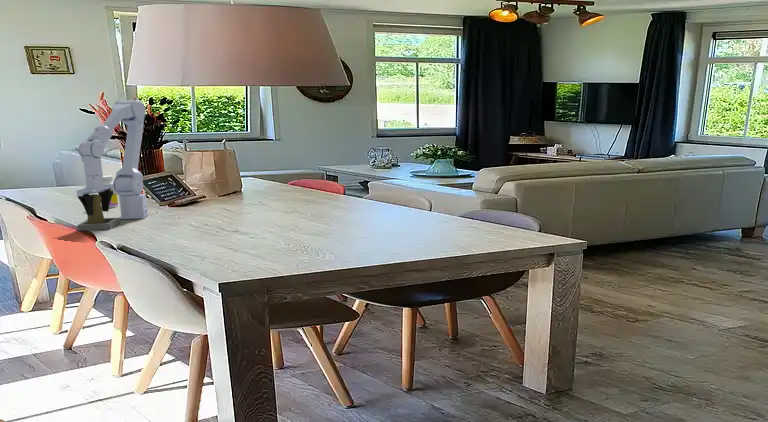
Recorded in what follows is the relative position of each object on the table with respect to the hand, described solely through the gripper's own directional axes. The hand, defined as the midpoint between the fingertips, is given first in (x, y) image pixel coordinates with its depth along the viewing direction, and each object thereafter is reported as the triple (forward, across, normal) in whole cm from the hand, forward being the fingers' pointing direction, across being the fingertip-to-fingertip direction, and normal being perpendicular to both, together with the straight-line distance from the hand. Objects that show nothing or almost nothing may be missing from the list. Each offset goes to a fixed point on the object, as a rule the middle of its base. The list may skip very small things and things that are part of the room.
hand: (97, 213), depth 245 cm
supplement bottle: (+5, -32, -29) cm, 44 cm away
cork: (+5, 0, -1) cm, 5 cm away
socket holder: (+5, 0, 0) cm, 5 cm away
